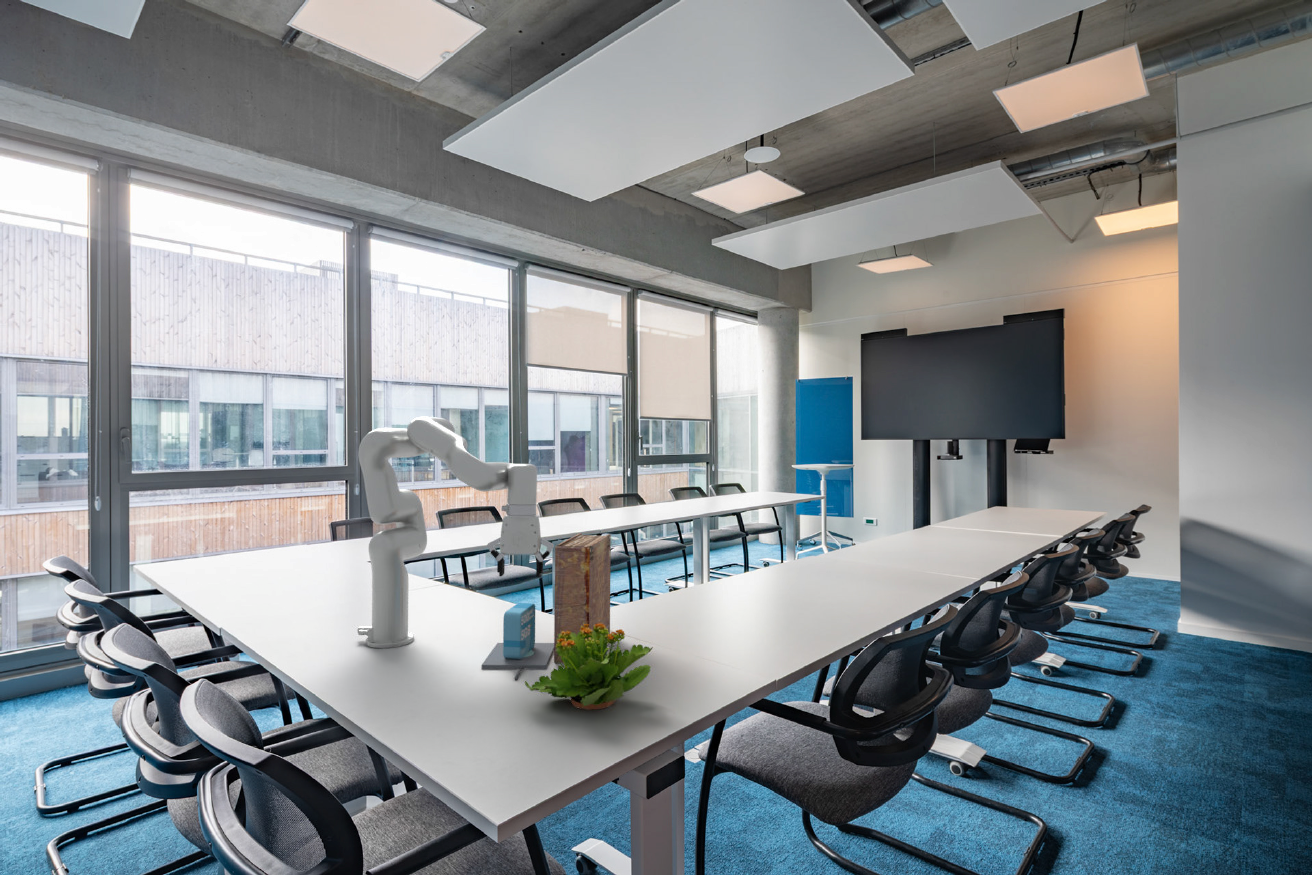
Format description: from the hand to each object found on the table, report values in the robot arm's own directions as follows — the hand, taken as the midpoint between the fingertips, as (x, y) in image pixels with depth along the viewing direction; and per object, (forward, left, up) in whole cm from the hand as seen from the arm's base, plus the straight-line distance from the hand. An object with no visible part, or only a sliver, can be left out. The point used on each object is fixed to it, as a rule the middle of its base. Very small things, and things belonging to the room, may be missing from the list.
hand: (520, 575), depth 173 cm
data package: (0, 0, -21) cm, 21 cm away
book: (+16, +7, -22) cm, 28 cm away
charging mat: (0, -4, -21) cm, 22 cm away
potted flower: (+22, -29, -22) cm, 43 cm away
